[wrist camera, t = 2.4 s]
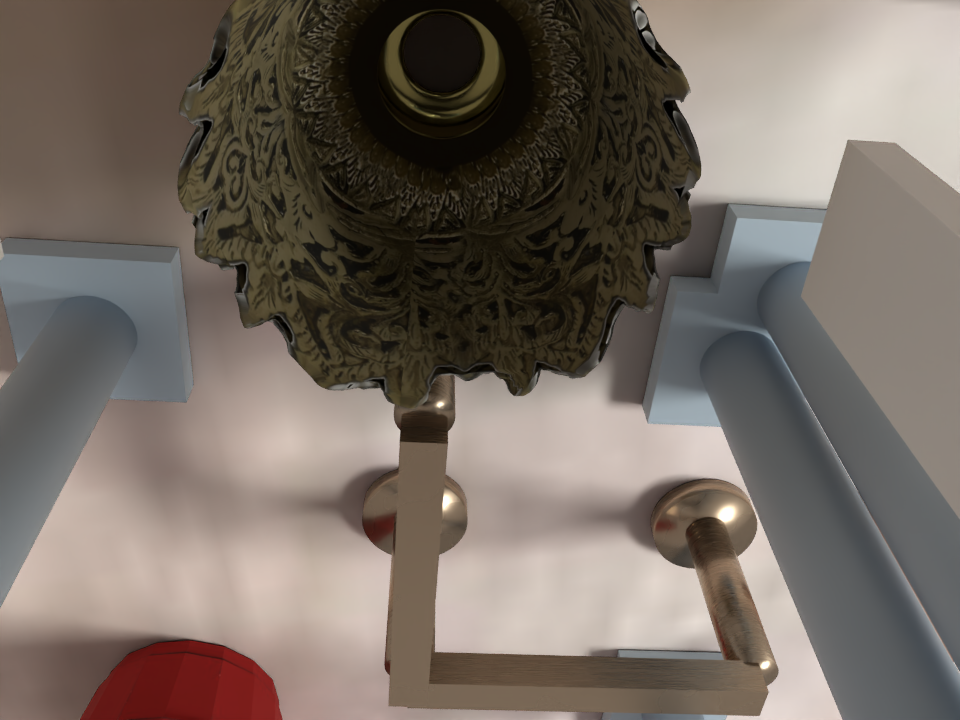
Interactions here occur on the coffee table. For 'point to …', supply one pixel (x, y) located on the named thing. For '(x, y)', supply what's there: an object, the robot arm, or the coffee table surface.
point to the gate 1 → (668, 400)
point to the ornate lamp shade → (438, 185)
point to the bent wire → (548, 678)
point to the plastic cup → (185, 686)
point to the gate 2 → (836, 416)
